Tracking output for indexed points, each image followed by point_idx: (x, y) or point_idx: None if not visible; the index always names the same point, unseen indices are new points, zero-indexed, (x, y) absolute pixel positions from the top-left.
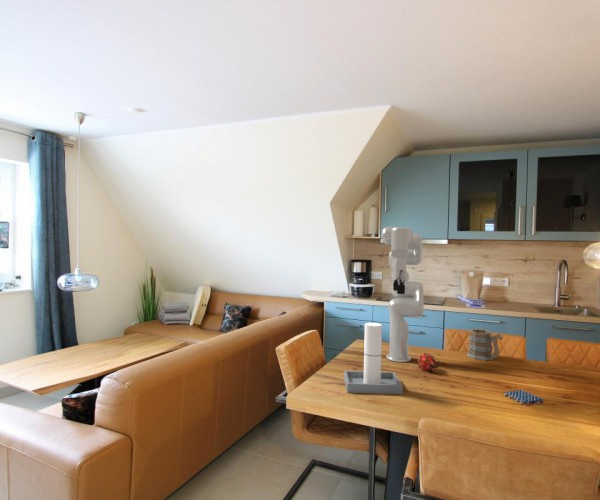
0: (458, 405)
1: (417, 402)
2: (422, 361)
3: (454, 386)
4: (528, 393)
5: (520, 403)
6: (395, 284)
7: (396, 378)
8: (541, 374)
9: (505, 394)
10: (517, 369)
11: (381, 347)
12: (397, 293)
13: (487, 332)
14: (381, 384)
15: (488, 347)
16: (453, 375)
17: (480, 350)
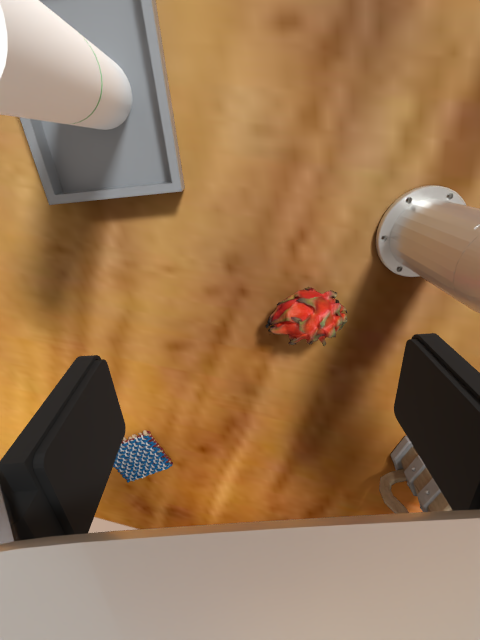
0: (43, 333)
1: (15, 237)
2: (292, 304)
3: (175, 350)
4: (155, 470)
5: None
6: (460, 424)
7: (113, 191)
8: (296, 515)
9: (143, 434)
10: (325, 491)
11: (35, 119)
12: (84, 356)
13: None
14: (26, 124)
15: (412, 488)
16: (262, 364)
17: (411, 466)
